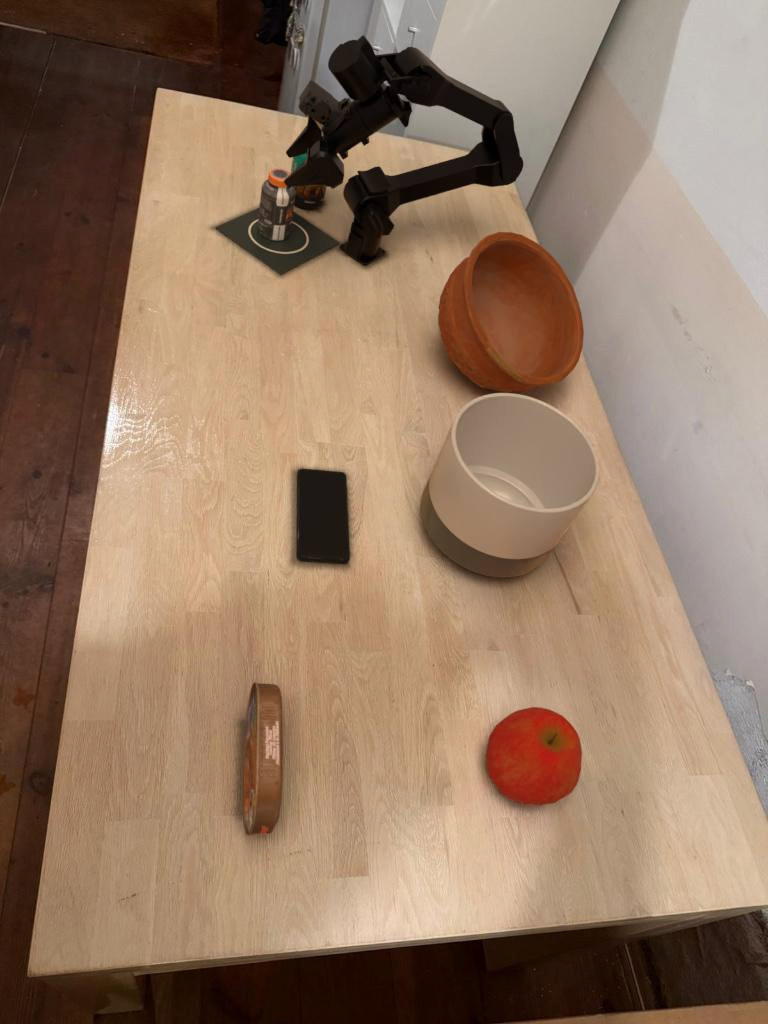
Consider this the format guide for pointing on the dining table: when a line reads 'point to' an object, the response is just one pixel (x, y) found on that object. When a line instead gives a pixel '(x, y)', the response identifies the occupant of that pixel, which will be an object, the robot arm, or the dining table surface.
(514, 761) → the apple
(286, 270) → the slate board
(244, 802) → the tin
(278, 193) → the pill bottle
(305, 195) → the beverage can
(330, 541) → the smartphone
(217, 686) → the dining table surface
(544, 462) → the planter
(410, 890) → the dining table surface
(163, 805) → the dining table surface
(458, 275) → the bowl
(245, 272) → the dining table surface
